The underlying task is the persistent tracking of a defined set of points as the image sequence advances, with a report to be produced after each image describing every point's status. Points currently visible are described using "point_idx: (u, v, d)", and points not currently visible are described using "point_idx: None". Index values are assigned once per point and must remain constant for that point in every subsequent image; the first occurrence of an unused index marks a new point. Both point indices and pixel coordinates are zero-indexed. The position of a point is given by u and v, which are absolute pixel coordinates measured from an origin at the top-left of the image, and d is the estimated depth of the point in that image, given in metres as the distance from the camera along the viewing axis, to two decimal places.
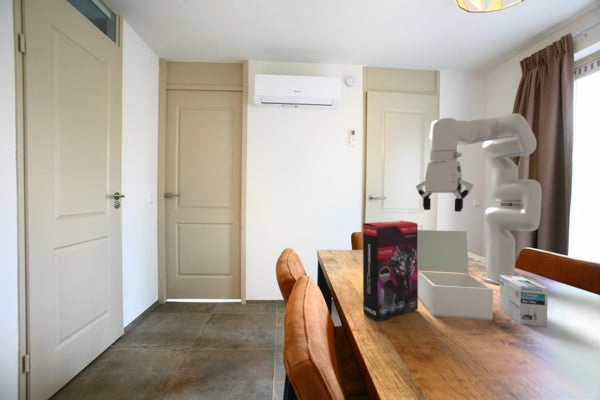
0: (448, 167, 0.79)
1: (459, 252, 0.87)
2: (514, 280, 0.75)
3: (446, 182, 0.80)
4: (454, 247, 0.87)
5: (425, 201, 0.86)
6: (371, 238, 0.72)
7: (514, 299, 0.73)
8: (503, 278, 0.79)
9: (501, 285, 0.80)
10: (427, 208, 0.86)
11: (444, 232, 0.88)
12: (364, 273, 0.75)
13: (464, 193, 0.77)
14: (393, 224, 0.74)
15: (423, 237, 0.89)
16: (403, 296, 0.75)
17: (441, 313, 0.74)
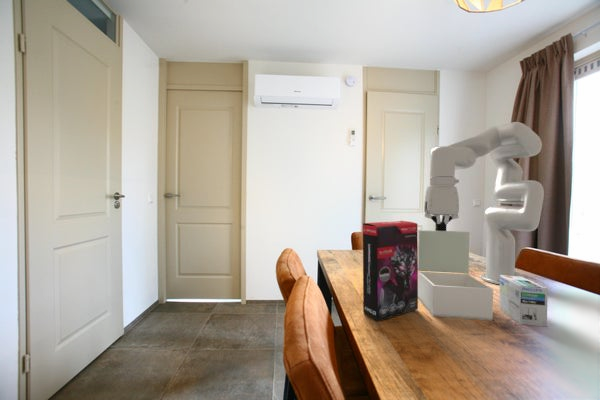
0: (453, 192, 0.86)
1: (460, 253, 0.86)
2: (514, 280, 0.75)
3: (451, 206, 0.86)
4: (456, 247, 0.86)
5: (441, 227, 0.88)
6: (371, 238, 0.72)
7: (514, 299, 0.73)
8: (503, 278, 0.78)
9: (501, 285, 0.80)
10: None
11: (446, 233, 0.87)
12: (364, 273, 0.75)
13: (449, 219, 0.88)
14: (393, 224, 0.74)
15: (425, 238, 0.88)
16: (403, 296, 0.75)
17: (441, 313, 0.74)
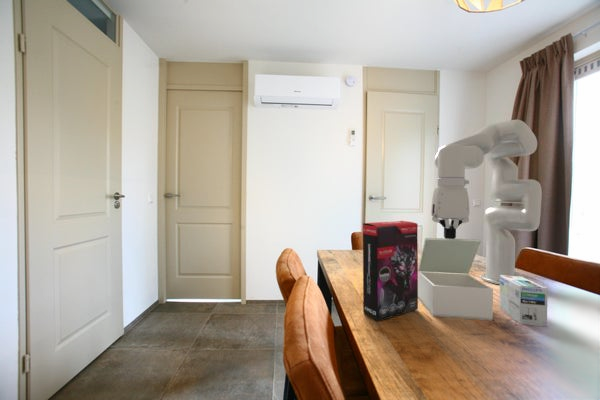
0: (463, 194, 0.80)
1: (465, 258, 0.83)
2: (514, 280, 0.75)
3: (461, 209, 0.80)
4: (462, 254, 0.82)
5: (450, 232, 0.81)
6: (371, 238, 0.72)
7: (514, 299, 0.73)
8: (503, 278, 0.78)
9: (501, 285, 0.80)
10: None
11: (455, 242, 0.80)
12: (364, 273, 0.75)
13: (459, 223, 0.81)
14: (393, 224, 0.74)
15: (431, 246, 0.82)
16: (403, 296, 0.75)
17: (441, 313, 0.74)
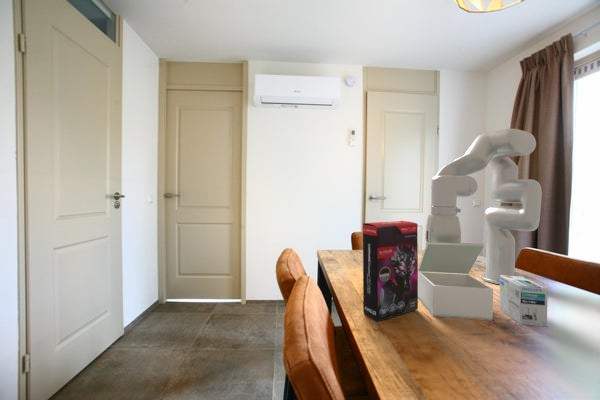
0: (454, 222, 0.84)
1: (466, 260, 0.82)
2: (514, 280, 0.75)
3: (453, 236, 0.85)
4: (463, 257, 0.81)
5: None
6: (371, 238, 0.72)
7: (514, 299, 0.73)
8: (503, 278, 0.78)
9: (501, 285, 0.80)
10: None
11: (457, 246, 0.79)
12: (364, 273, 0.75)
13: None
14: (393, 224, 0.74)
15: (432, 249, 0.81)
16: (403, 296, 0.75)
17: (441, 313, 0.74)
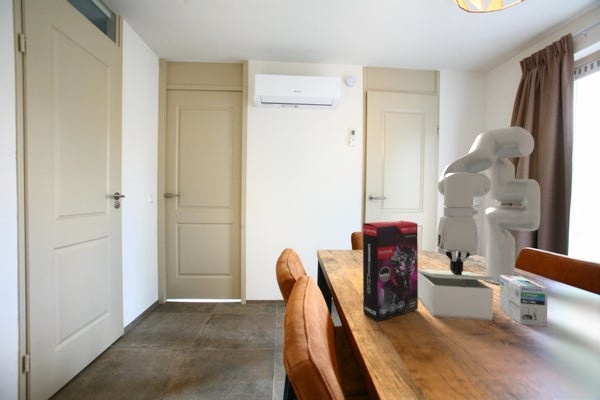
0: (471, 225, 0.74)
1: None
2: (514, 280, 0.75)
3: (469, 241, 0.75)
4: None
5: (457, 265, 0.76)
6: (371, 238, 0.72)
7: (514, 299, 0.73)
8: (503, 278, 0.79)
9: (501, 285, 0.80)
10: None
11: (465, 278, 0.74)
12: (364, 273, 0.75)
13: (466, 256, 0.76)
14: (393, 224, 0.74)
15: None
16: (403, 296, 0.75)
17: (441, 313, 0.74)
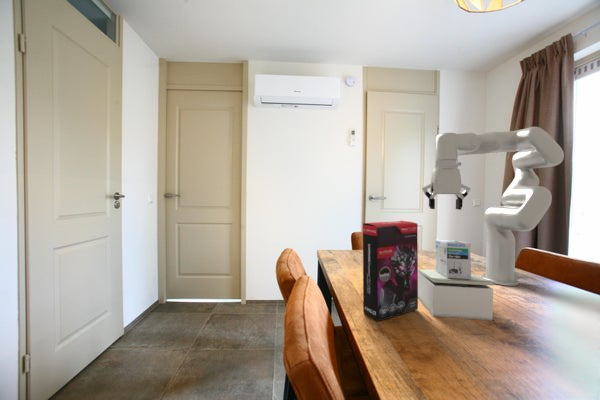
0: (456, 173, 0.97)
1: None
2: (444, 240, 0.81)
3: (454, 186, 0.97)
4: None
5: (434, 201, 0.99)
6: (371, 238, 0.72)
7: (443, 256, 0.79)
8: (437, 241, 0.84)
9: (436, 248, 0.85)
10: None
11: (465, 283, 0.74)
12: (364, 273, 0.75)
13: (465, 195, 0.98)
14: (393, 224, 0.74)
15: None
16: (403, 296, 0.75)
17: (441, 313, 0.74)
